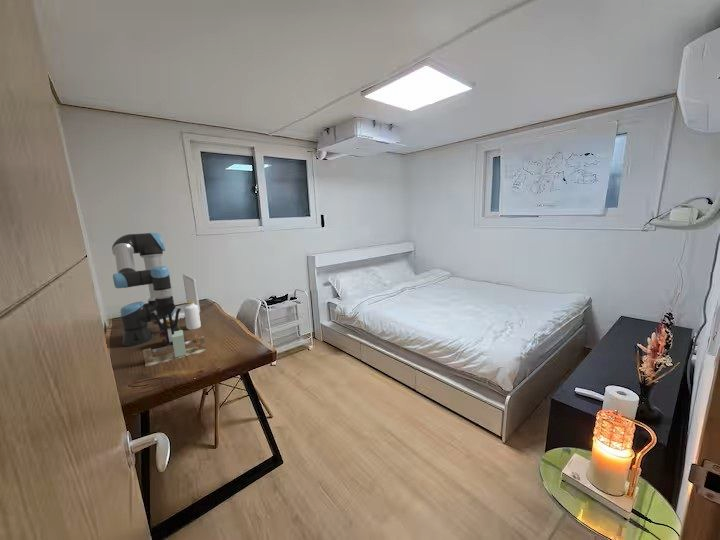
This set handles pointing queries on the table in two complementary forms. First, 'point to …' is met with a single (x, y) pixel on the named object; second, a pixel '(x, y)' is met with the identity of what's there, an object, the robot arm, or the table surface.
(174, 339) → the block
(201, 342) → the rail
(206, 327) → the table surface
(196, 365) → the table surface
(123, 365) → the table surface
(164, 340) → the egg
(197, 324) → the potion bottle
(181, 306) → the laptop
